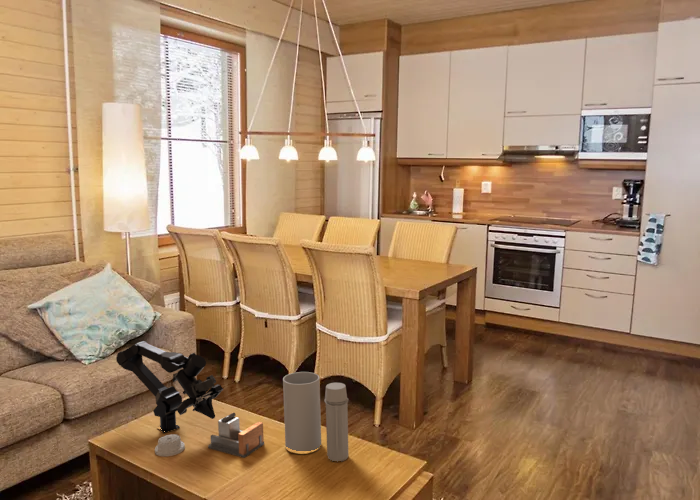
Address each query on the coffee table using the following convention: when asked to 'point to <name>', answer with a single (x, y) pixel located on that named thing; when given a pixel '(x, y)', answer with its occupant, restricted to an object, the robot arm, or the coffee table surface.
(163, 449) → the mechanical component
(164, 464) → the coffee table surface
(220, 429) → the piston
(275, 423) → the coffee table surface
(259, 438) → the grey and orange holder
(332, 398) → the water bottle
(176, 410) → the robot arm
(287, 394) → the cylinder vase
